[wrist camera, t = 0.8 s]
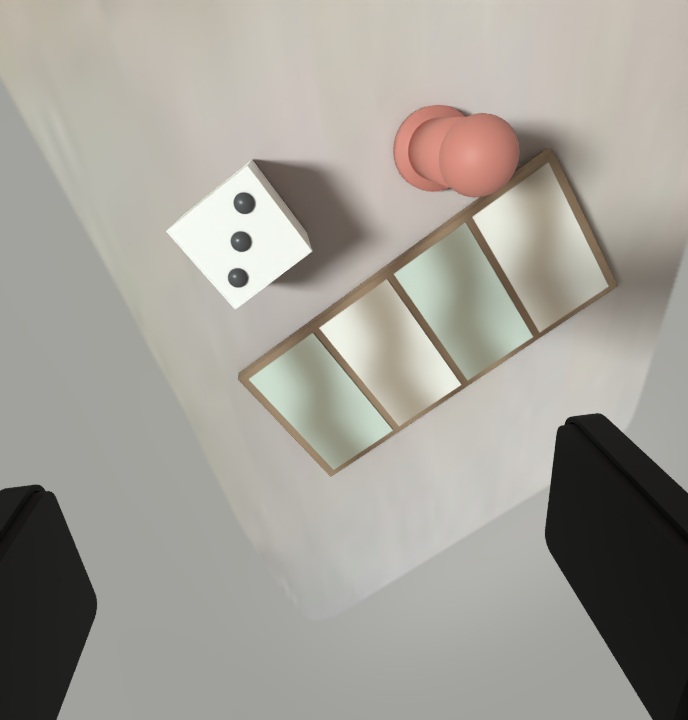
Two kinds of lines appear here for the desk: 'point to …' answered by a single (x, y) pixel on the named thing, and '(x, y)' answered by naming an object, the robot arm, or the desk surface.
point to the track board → (435, 318)
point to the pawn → (456, 151)
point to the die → (241, 235)
